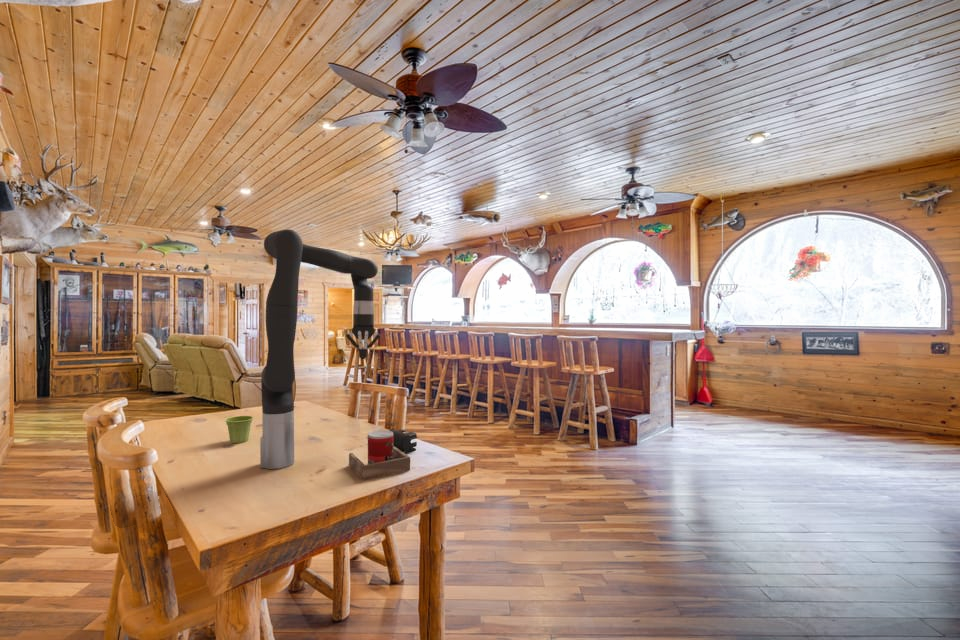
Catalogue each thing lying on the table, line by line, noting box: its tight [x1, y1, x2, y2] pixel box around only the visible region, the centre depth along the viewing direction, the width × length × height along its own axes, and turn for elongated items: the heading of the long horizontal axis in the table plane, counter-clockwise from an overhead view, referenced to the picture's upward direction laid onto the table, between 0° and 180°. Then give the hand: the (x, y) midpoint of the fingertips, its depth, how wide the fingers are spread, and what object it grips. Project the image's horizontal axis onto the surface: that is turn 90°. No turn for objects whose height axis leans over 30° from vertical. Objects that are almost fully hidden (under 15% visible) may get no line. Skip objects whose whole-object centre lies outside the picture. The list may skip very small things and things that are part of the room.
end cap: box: [388, 429, 418, 454], centre depth 153 cm, size 10×7×7 cm
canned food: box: [367, 429, 393, 464], centre depth 136 cm, size 8×8×11 cm
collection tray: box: [348, 446, 411, 481], centre depth 136 cm, size 14×15×4 cm
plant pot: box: [224, 415, 254, 444], centre depth 163 cm, size 9×9×9 cm
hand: (363, 358), depth 162 cm, fingers closed
